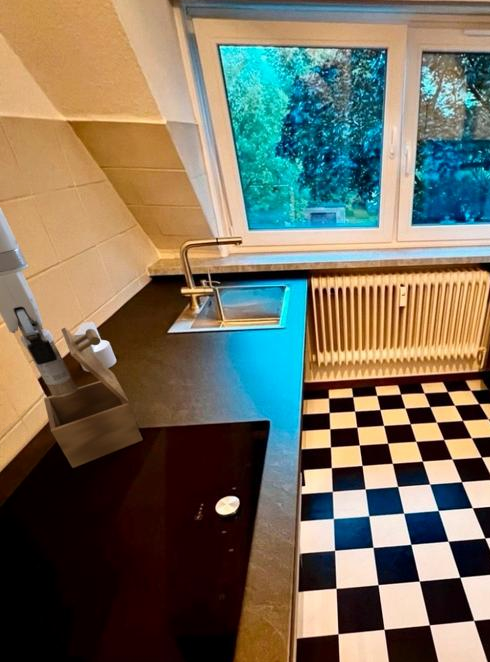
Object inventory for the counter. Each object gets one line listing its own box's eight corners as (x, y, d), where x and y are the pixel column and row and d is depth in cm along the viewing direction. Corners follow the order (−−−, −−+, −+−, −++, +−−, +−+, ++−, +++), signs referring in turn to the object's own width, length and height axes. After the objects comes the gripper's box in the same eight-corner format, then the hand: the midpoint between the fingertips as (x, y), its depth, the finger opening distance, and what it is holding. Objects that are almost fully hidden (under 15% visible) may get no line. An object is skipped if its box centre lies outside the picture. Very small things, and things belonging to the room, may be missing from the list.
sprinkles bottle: (76, 384, 82) (47, 326, 75) (79, 393, 79) (50, 334, 72) (50, 392, 80) (18, 333, 73) (53, 401, 77) (20, 341, 70)
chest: (74, 471, 80) (51, 431, 74) (64, 435, 90) (43, 397, 84) (144, 443, 87) (128, 404, 82) (128, 413, 97) (113, 376, 91)
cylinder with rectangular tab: (87, 359, 120) (71, 324, 114) (119, 355, 122) (105, 320, 116) (78, 373, 113) (61, 337, 107) (113, 369, 115) (97, 332, 109)
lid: (71, 355, 71) (96, 339, 73) (60, 329, 81) (83, 315, 82) (125, 404, 81) (146, 389, 83) (110, 376, 91) (130, 363, 92)
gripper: (-31, 255, 68) (19, 346, 78) (-34, 278, 57) (25, 381, 67) (21, 248, 72) (63, 336, 82) (28, 268, 61) (75, 367, 71)
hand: (45, 355), depth 75 cm, fingers closed on sprinkles bottle, 4 cm apart
